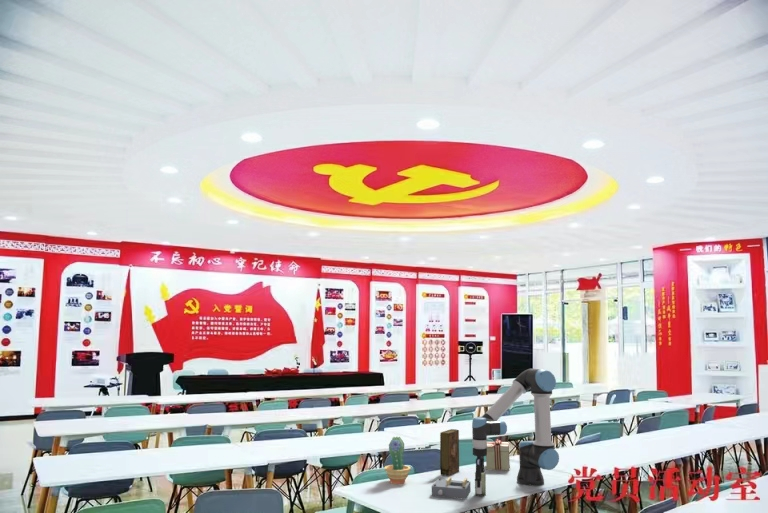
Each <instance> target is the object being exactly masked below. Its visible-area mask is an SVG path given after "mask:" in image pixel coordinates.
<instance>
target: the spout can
mask: <svg viewBox="0 0 768 513" xmlns="http://www.w3.org/2000/svg"><path fill="white" fill-rule="evenodd" d="M484 472H485V471H484ZM484 472H481V481H482V494H476V481H475V479H476V471H475V472H474V484H475V485H474V489H475V490H474V495H475V496H477V495H479V496H478V497H485V496H486V495H487V493H486V492H487V488H486V487H487V485H486V483H487V482H486V480H487V479H486V478H487V477H486V472H485V473H484ZM484 495H485V496H484Z"/></svg>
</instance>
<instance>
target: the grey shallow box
mask: <svg viewBox="0 0 768 513" xmlns="http://www.w3.org/2000/svg"><path fill="white" fill-rule="evenodd" d="M471 488H472V487H471V481H470V480H468V478H467V477H465V478H464V479H463V480H455V479H454V480H452V476H448V478H447V479H442V478H437V479H436V480H435V481H434V483H432V485H431V497H439V498H447V497H449V498H450V499H458V498H462V499H461V500H467V498H468V497H469V495H470V493H471V490H472V489H471ZM467 496H468V497H467Z"/></svg>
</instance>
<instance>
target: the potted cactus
mask: <svg viewBox="0 0 768 513" xmlns="http://www.w3.org/2000/svg"><path fill="white" fill-rule="evenodd" d="M388 452H389V455H390V457H391V462H392V464H389V465H385V466H384V471H385V472H386V475H387V477H388V479H389V483H390V484H393V485H401V484H405V483H406V479H407V478H408V477H409V473H410V472H411V469H412V468H411V466H408V465H406V464H404V452H405V443H404V441H403V439H402V437H401V436H399V437H398V436H393V437H392V438H391V440H390V442H389V444H388Z"/></svg>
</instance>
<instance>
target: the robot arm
mask: <svg viewBox="0 0 768 513" xmlns="http://www.w3.org/2000/svg"><path fill="white" fill-rule="evenodd" d="M556 379H557V378H556V377H555V375H554V374H553V373H552V372H551V371H550V370H548V369H544V368H543V369H542V368H528V369H526V370H523V371H522V372H521V373H520V374H519V375H517V376H516V378H515V379H514V380H513V381H512V384H511V386H509V387H508V388H507V389H506V391H504V392H503V394H502V395H501V396H500V397H499V398H498V399H497V400H496V401H495V402H494V403H493V404H492V406H490V407H489V408H488V410H486V412H485V413H484V414H483V415H482V416H477V417H476V416H475V417H473V418H472V421H471V422H472V423H471V424H472V425H471V429H472V430H471V431H472V433H471V434H472V440H471V443H472V456H475V457H476V458H475V472H476V479H475V478H474V482H475V481H476V494H482V481H481V472H484V473H486V472H485V459H484V458H485V457H486V455H487V449H486V447H487V442H488V439H487V437H488V436H503V435H505V434H506V433H507V432H508V425H507V423H506V422H505V420H500V419H501V417H502V416H503V415H505V413H506V412H507V411H508V409H509V408H511V406H513V405H514V404H515V403H516V401H517V400H519V399H520V397H521V396H522V395H523V394H526V393H527V392H528V391H530V394H531V395H532V397H533V403H534V404H533V406H534V410H533V411H534V433H535V434H534V435H535V436H534V437H535V440H524V441H523V440H522V441H520V442H519V444H518V445H519V446H518V450H519V451H518V452H519V453H518V454H519V456H518V457H519V459H518V460H519V469H518V471H517V472H518V473H517V476H516V482H517V484H520V485H523V486H532V487H533V486H535V487H536V486H542V485H544V484H545V479H544V475H543V473H542V470H547V471H551V470H554V469H555V468H556V467H557V466H558V464H559V462H560V456H559V452H558V451H557V450H556V449H555V443H554V442H553V441H552V428H551V427H552V425H551V420H552V419H551V401H550V400H551V399H550V397H551V396H552V395H553V390H554V389H555V387H556V386H557V381H556ZM506 435H507V434H506Z"/></svg>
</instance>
